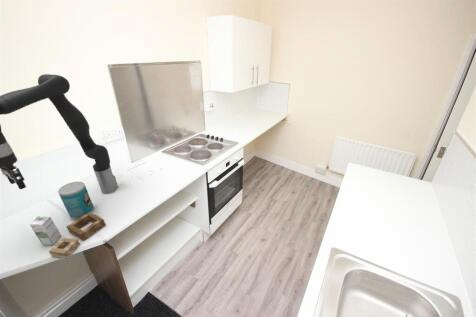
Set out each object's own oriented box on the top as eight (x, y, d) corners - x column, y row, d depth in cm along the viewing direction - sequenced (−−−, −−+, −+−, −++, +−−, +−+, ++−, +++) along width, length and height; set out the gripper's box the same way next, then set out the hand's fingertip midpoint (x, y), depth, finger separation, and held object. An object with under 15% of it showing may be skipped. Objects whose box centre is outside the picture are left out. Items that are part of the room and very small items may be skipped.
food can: (66, 213, 125) (54, 188, 117) (88, 203, 134) (79, 178, 125) (75, 223, 119) (62, 197, 111) (98, 211, 128) (88, 186, 119)
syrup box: (62, 236, 111) (50, 215, 104) (54, 245, 106) (41, 224, 99) (50, 236, 111) (38, 215, 104) (42, 245, 106) (28, 224, 99)
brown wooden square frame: (91, 217, 123) (89, 212, 120) (105, 225, 118) (103, 219, 116) (69, 232, 113) (66, 226, 111) (83, 241, 109) (80, 234, 106)
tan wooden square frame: (65, 242, 108) (62, 237, 106) (80, 244, 107) (77, 239, 105) (51, 256, 101) (48, 251, 99) (67, 258, 100) (64, 253, 98)
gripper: (20, 153, 90) (36, 185, 98) (4, 146, 96) (21, 177, 103) (-5, 161, 84) (15, 194, 92) (-19, 153, 90) (0, 185, 97)
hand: (18, 185), depth 98 cm, fingers open, 8 cm apart
